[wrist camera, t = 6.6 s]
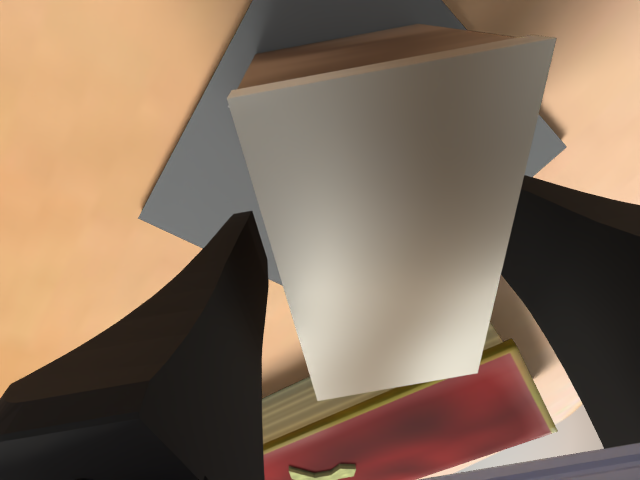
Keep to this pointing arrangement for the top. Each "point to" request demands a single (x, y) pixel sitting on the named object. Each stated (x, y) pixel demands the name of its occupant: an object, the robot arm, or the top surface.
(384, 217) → the card box
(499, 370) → the hardcover book
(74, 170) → the top surface
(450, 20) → the mat
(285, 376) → the top surface
